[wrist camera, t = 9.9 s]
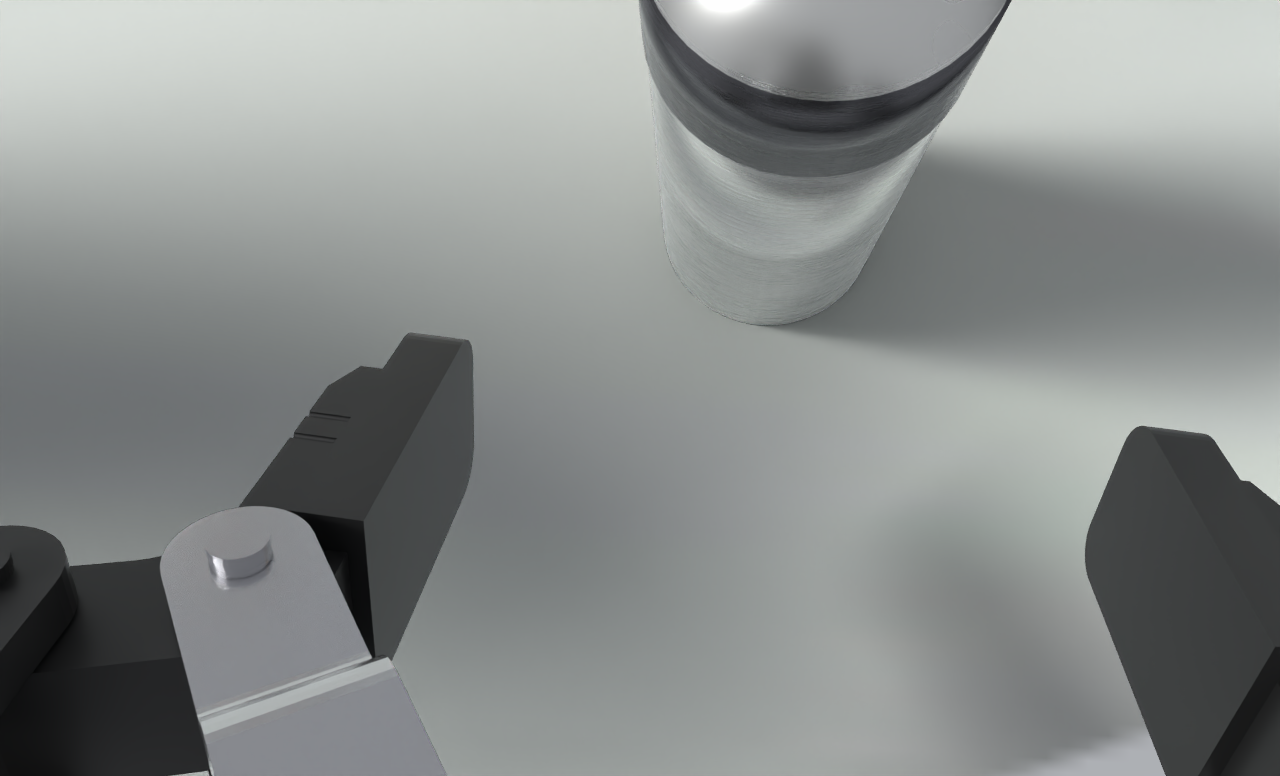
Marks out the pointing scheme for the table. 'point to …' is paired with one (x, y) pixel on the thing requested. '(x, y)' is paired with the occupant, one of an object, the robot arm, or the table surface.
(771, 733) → the table surface
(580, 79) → the table surface
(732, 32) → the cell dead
